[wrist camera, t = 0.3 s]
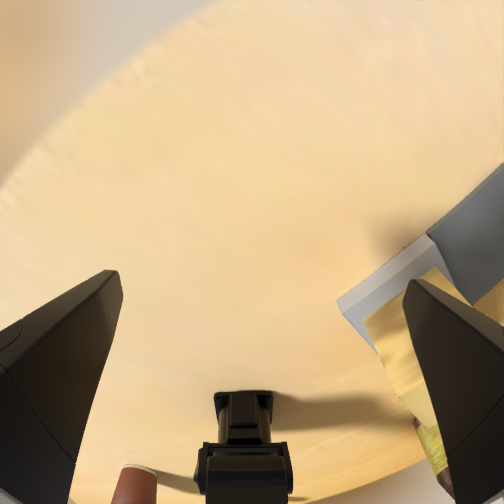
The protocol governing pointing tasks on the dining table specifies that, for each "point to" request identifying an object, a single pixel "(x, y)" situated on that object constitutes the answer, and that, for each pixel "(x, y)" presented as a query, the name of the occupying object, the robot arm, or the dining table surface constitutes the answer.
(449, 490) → the sauce bottle
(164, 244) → the dining table surface
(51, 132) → the dining table surface
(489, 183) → the rubber pad
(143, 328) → the dining table surface
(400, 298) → the ochre block
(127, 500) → the coffee cup
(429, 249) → the block
